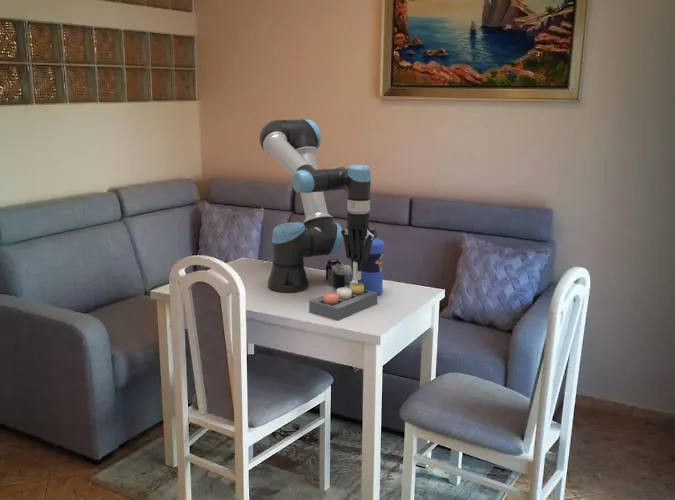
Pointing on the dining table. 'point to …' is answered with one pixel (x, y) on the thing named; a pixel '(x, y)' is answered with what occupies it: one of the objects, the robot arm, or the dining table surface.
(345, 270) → the camera
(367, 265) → the water bottle
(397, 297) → the dining table surface
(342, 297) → the ivory button
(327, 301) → the coral button
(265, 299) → the dining table surface
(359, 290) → the ochre button
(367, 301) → the console
